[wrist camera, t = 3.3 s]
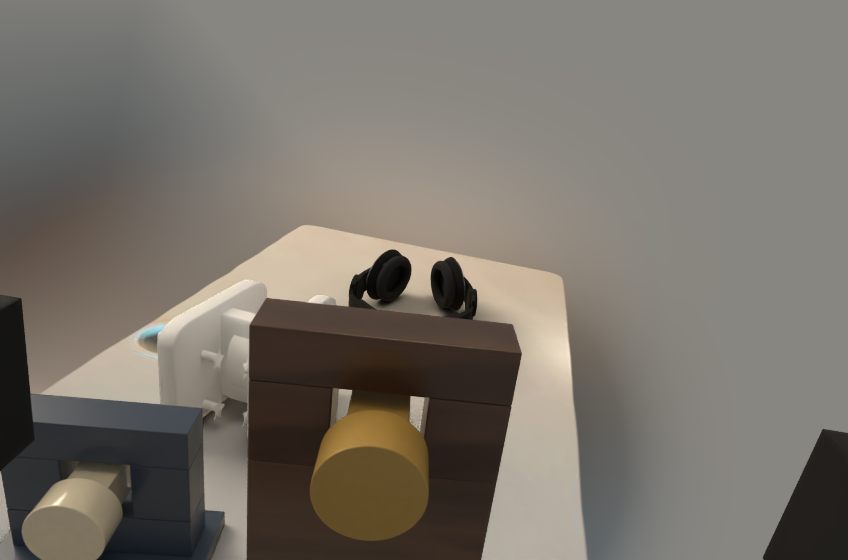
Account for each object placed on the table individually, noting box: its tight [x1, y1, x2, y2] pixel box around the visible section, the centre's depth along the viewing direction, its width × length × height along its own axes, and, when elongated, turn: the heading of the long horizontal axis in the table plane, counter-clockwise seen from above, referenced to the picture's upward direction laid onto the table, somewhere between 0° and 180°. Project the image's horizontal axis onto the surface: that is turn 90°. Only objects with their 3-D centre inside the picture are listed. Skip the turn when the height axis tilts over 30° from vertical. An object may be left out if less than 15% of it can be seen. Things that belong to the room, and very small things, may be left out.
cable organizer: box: [157, 279, 336, 441], centre depth 58 cm, size 15×11×12 cm
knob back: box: [22, 461, 131, 560], centre depth 39 cm, size 6×5×5 cm
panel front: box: [247, 298, 522, 560], centre depth 32 cm, size 6×14×24 cm, turn 90°
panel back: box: [0, 394, 225, 560], centre depth 41 cm, size 6×14×12 cm, turn 91°
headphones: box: [349, 250, 477, 320], centre depth 83 cm, size 18×8×20 cm
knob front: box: [310, 390, 429, 541], centre depth 27 cm, size 6×5×5 cm
